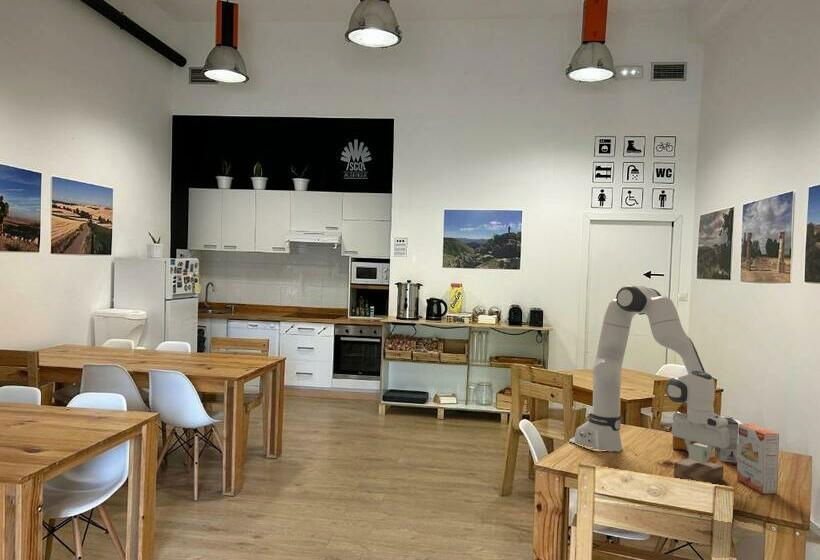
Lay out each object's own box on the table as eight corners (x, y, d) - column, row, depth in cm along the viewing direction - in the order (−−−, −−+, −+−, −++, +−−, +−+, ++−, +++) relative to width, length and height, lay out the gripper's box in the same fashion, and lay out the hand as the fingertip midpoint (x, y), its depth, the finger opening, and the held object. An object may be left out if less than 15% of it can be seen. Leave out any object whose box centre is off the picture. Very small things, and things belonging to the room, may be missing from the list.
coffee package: (701, 447, 259) (702, 396, 259) (694, 453, 249) (696, 401, 249) (676, 443, 265) (678, 393, 265) (669, 449, 256) (670, 397, 255)
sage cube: (688, 458, 220) (689, 445, 220) (695, 456, 223) (696, 443, 223) (702, 462, 216) (702, 448, 216) (709, 460, 219) (709, 446, 219)
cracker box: (735, 480, 218) (737, 422, 218) (751, 480, 218) (753, 423, 218) (761, 494, 204) (763, 433, 204) (778, 494, 204) (780, 433, 204)
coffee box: (713, 454, 249) (714, 416, 249) (730, 456, 248) (731, 417, 247) (720, 461, 240) (721, 421, 240) (737, 463, 239) (739, 422, 238)
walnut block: (673, 476, 221) (674, 462, 220) (690, 470, 228) (691, 457, 228) (706, 485, 211) (706, 471, 211) (722, 479, 218) (723, 465, 218)
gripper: (668, 411, 226) (667, 448, 226) (724, 423, 209) (722, 463, 209) (677, 409, 229) (676, 445, 229) (732, 421, 213) (731, 460, 213)
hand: (698, 454), depth 219 cm, fingers closed on sage cube, 5 cm apart
